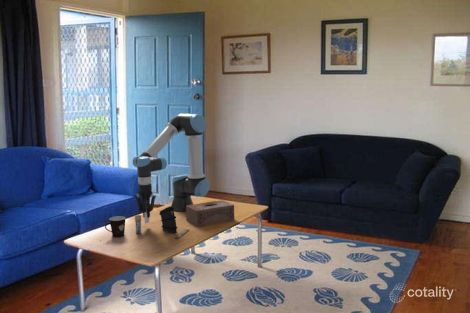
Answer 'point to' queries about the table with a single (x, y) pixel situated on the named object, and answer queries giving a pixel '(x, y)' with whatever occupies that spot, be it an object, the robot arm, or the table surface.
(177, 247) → the table surface
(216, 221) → the tissue box cover
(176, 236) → the strip
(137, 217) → the metal flashlight
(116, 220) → the coffee mug
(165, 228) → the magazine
